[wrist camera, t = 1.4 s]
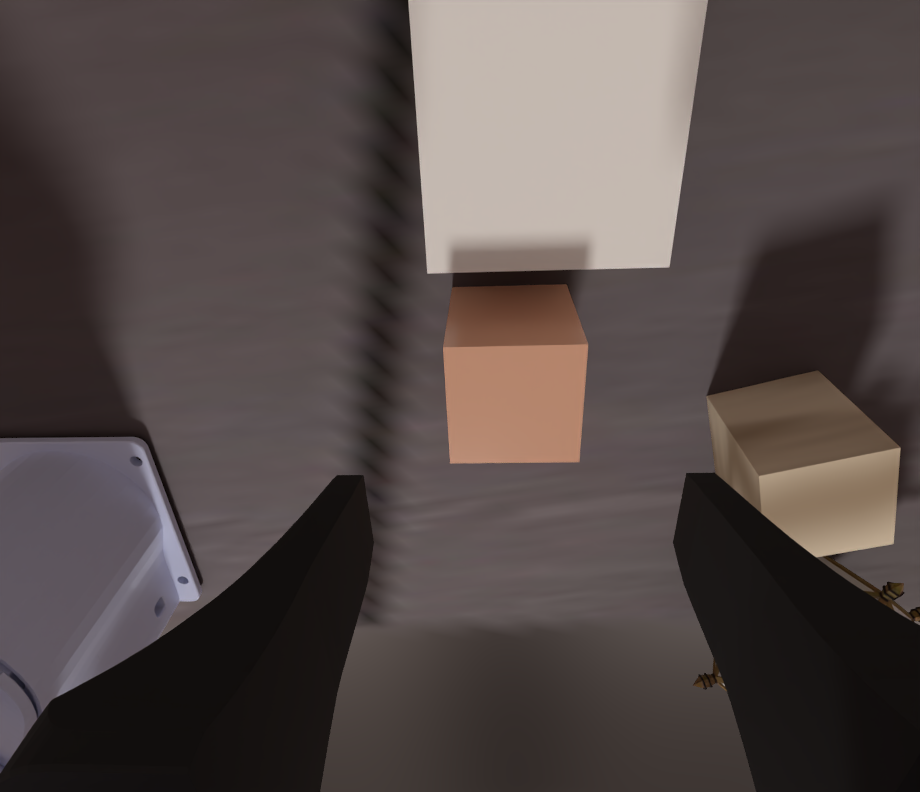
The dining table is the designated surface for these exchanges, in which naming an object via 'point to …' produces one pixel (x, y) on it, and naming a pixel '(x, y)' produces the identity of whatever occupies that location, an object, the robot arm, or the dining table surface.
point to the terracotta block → (514, 374)
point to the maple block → (808, 462)
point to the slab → (552, 130)
